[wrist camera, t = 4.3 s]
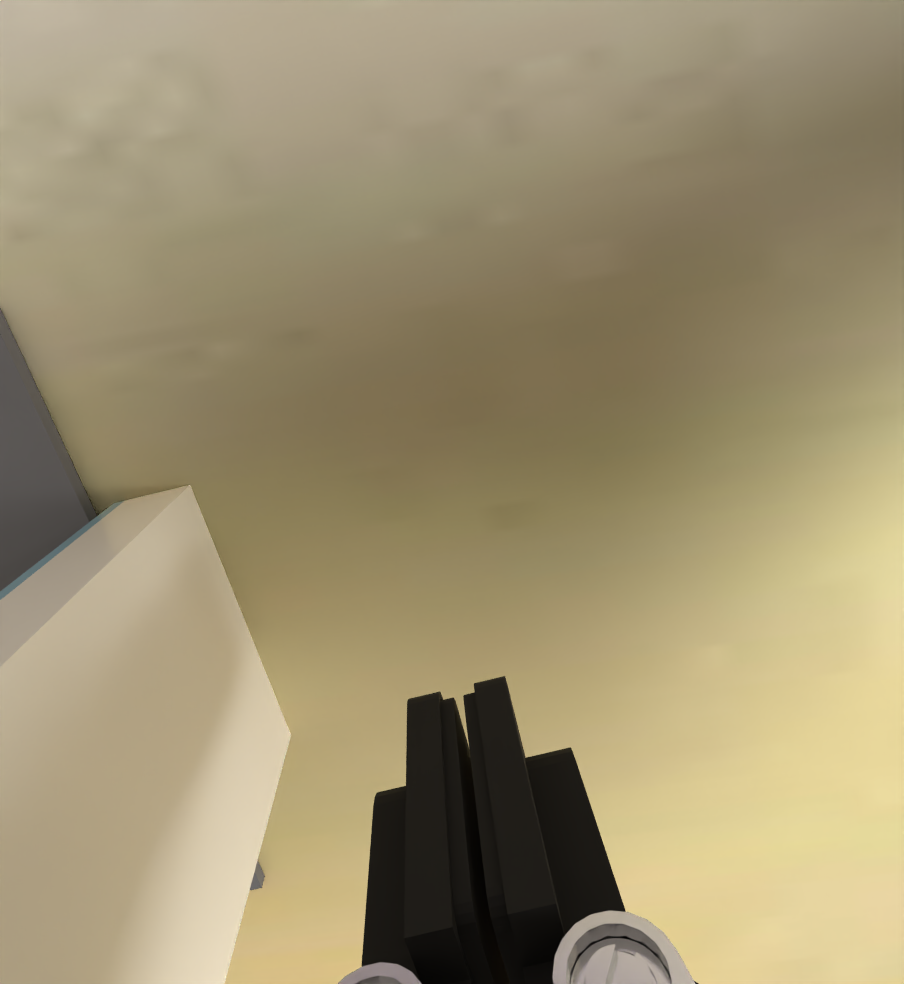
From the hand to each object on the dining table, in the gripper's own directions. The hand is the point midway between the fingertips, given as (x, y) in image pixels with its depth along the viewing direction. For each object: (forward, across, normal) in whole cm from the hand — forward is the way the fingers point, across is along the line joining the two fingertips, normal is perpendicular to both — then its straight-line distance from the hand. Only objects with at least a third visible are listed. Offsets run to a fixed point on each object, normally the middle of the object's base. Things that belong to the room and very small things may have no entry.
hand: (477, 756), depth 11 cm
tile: (+7, +7, 0) cm, 10 cm away
